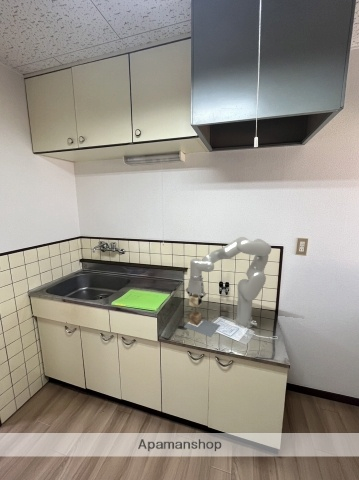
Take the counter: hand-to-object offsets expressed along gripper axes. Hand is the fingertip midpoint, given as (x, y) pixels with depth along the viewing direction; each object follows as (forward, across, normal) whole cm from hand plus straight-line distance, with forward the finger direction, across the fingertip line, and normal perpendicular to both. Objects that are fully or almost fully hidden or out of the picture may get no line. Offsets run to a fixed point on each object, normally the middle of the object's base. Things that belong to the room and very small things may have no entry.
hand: (195, 302), depth 150 cm
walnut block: (+15, 0, 0) cm, 15 cm away
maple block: (+2, 0, 0) cm, 2 cm away
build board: (+16, -6, +1) cm, 17 cm away
